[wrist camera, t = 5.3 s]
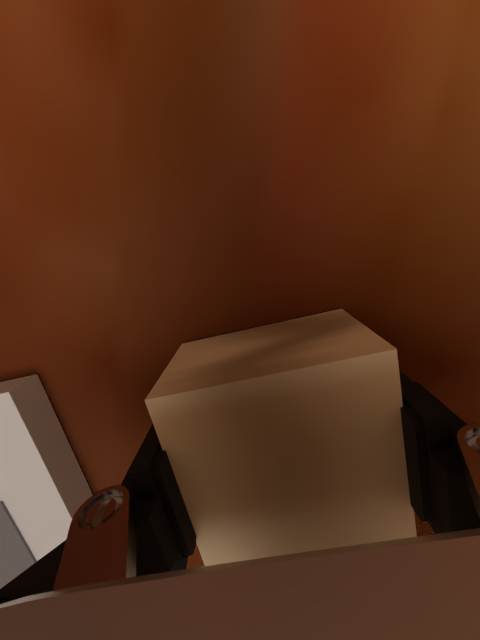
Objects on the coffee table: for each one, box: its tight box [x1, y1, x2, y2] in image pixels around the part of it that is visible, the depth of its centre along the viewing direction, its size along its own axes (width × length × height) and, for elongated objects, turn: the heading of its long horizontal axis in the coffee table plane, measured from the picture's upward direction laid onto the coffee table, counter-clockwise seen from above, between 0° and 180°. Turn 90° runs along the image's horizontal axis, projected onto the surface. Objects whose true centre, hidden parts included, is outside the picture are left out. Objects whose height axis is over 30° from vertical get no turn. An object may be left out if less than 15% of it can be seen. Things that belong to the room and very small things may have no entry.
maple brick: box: [145, 309, 417, 566], centre depth 9 cm, size 6×6×4 cm
